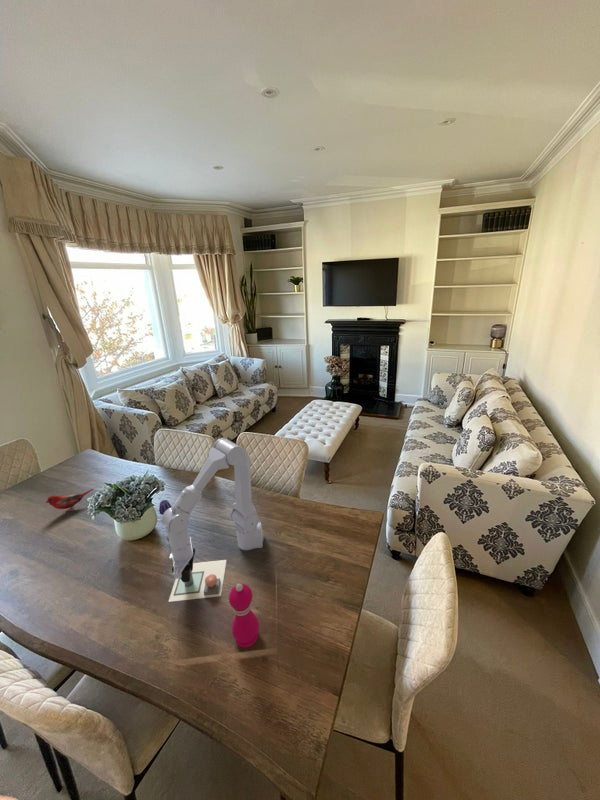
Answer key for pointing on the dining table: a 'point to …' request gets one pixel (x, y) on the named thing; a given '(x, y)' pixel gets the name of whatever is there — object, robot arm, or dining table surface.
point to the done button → (211, 580)
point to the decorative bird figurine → (65, 501)
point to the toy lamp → (164, 506)
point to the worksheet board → (200, 582)
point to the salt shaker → (190, 580)
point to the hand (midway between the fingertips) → (187, 575)
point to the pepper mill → (243, 616)
